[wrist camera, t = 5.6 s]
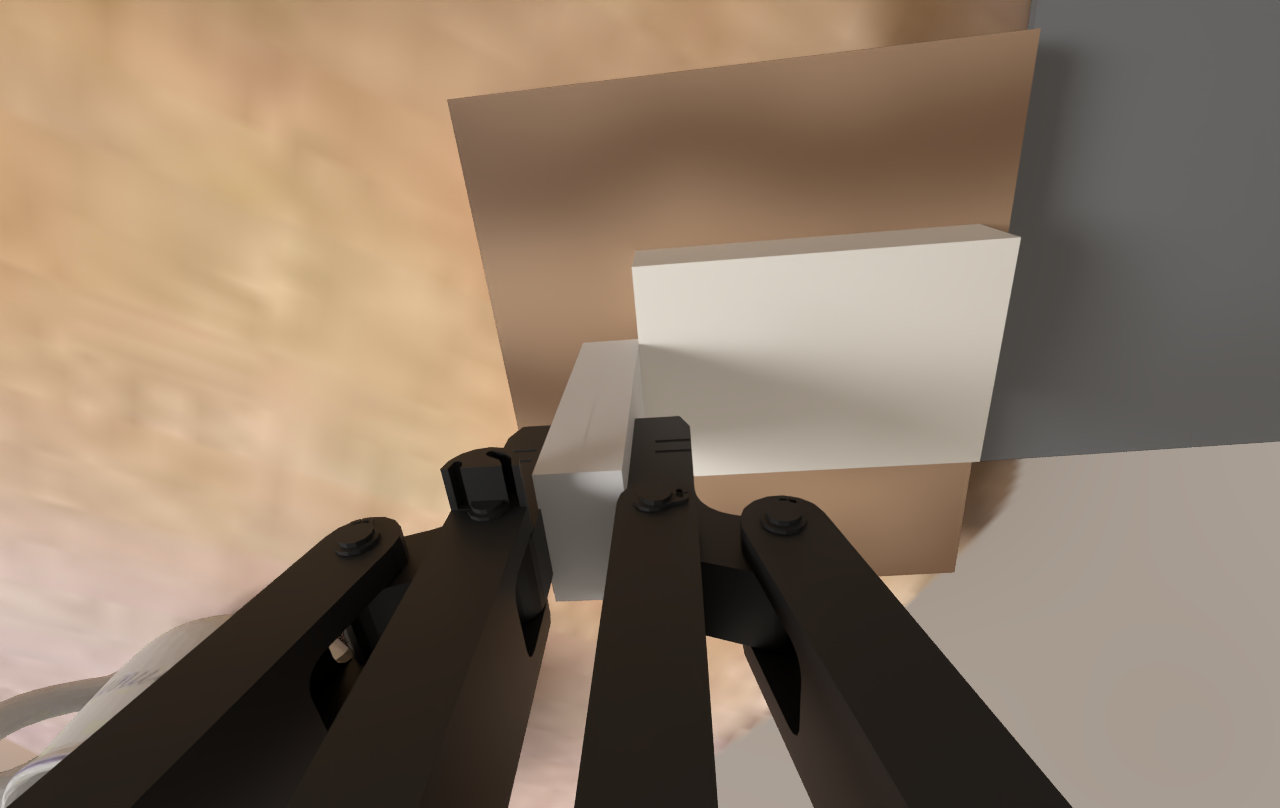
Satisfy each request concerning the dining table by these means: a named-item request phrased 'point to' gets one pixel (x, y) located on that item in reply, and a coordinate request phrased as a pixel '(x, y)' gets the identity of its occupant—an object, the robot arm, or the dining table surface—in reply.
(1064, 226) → the mat
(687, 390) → the white rectangular block
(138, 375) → the dining table surface
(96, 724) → the teacup
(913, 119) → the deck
